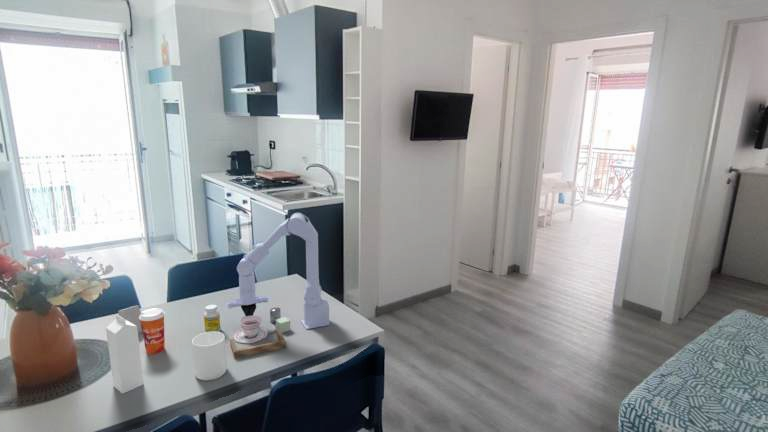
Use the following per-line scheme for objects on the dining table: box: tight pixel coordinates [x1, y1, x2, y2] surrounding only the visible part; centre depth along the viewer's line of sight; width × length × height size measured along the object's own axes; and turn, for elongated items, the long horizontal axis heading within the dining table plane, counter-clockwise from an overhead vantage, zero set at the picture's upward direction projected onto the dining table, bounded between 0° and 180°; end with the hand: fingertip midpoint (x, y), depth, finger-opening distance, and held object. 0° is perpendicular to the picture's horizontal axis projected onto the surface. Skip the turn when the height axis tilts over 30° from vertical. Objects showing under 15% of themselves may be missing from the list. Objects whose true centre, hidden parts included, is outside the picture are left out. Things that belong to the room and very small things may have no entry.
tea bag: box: [117, 304, 143, 334], centre depth 158 cm, size 4×7×10 cm, turn 140°
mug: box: [191, 331, 228, 382], centre depth 135 cm, size 10×12×12 cm
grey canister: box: [269, 307, 282, 325], centre depth 170 cm, size 4×4×5 cm
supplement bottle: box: [203, 304, 221, 332], centre depth 161 cm, size 5×5×10 cm
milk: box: [105, 313, 144, 395], centre depth 126 cm, size 6×6×22 cm
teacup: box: [233, 315, 268, 344], centre depth 159 cm, size 12×12×6 cm
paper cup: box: [139, 307, 166, 355], centre depth 146 cm, size 8×8×14 cm
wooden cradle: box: [229, 329, 287, 359], centre depth 151 cm, size 17×9×2 cm, turn 117°
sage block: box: [275, 316, 291, 334], centre depth 164 cm, size 4×4×4 cm
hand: (249, 322), depth 167 cm, fingers closed
